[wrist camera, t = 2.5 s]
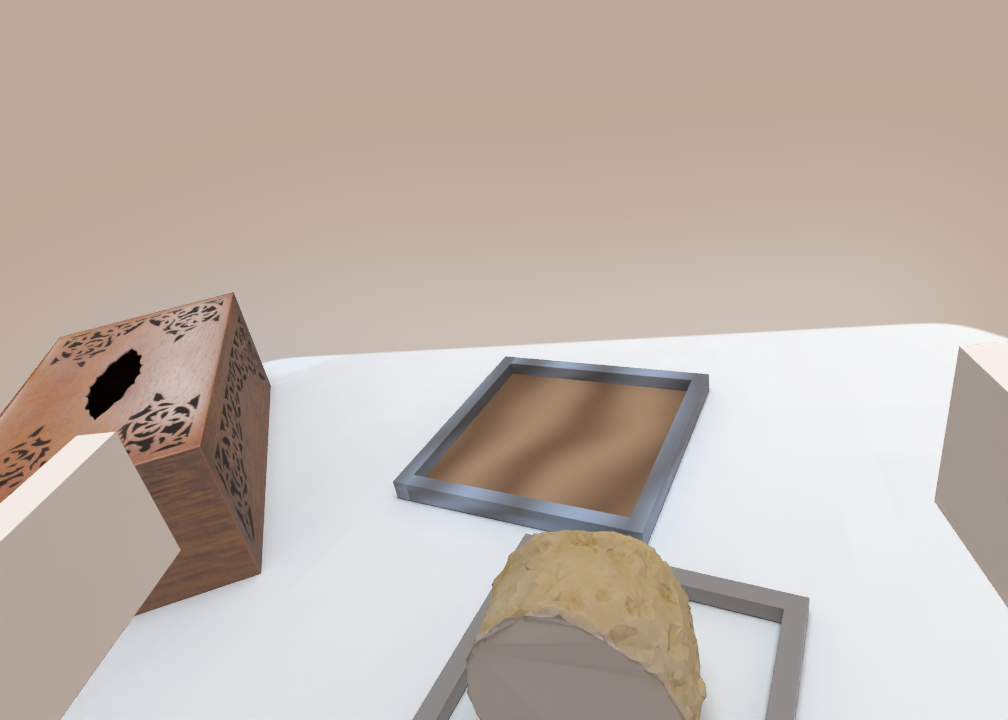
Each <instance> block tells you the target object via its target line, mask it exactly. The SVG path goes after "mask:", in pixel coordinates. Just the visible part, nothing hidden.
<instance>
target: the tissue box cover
mask: <svg viewBox="0 0 1008 720" xmlns="http://www.w3.org/2000/svg"><path fill="white" fill-rule="evenodd" d="M270 388H271V386H270V383H269V381H268V378H267V375H266V373H265V370H264V368H263V365H262V363H261V360H260V358H259V355H258V353H257V350H256V348H255V345H254V343H253V340H252V338H251V335H250V333H249V330H248V328H247V325H246V323H245V320H244V317H243V315H242V312H241V310H240V307H239V305H238V303H237V300H236V298H235V295H234V293H229V294H225V295H222V296H217V297H214V298H210V299H206V300H202V301H198V302H195V303H190V304H187V305H182V306H179V307H175V308H171V309H167V310H163V311H159V312H156V313H152V314H148V315H144V316H140V317H136V318H132V319H129V320H124V321H121V322H117V323H113V324H109V325H105V326H101V327H98V328H94V329H90V330H86V331H82V332H78V333H74V334H70V335H67V336H63V337H60V338H59V339H58V341H57V342H56V343H55V345H54V346H53V347H52V349H51V350H50V351H49V352H48V354H47V355H46V356H45V358H44V359H43V360H42V362H41V363H40V364H39V366H38V367H37V368H36V369H35V371H34V372H33V373H32V374H31V376H30V377H29V378H28V380H27V381H26V382H25V384H24V385H23V386H22V388H21V389H20V390H19V391H18V393H17V394H16V395H15V397H14V398H13V399H12V401H11V402H10V403H9V404H8V406H7V407H6V408H5V410H4V411H3V412H2V413H1V415H0V503H1V502H2V501H4V500H5V499H6V498H7V497H8V496H9V495H10V494H11V493H13V492H14V491H15V490H16V489H17V488H18V487H19V486H20V485H22V484H23V483H24V482H25V481H26V480H27V479H28V478H29V477H31V476H32V475H33V474H34V473H35V472H36V471H37V470H38V469H40V468H41V467H42V466H43V465H44V464H45V463H46V462H48V461H49V460H50V459H51V458H52V457H53V456H54V455H55V454H57V453H58V452H59V451H60V450H61V449H62V448H63V447H64V446H66V445H67V444H68V443H69V442H70V441H71V440H72V439H73V438H75V437H76V436H78V435H88V434H98V433H108V432H116V433H117V435H118V437H119V439H120V441H121V443H122V444H123V446H124V448H125V450H126V452H127V453H128V455H129V457H130V459H131V461H132V463H133V464H134V466H135V468H136V470H137V472H138V473H139V475H140V477H141V479H142V481H143V483H144V484H145V486H146V488H147V490H148V492H149V493H150V495H151V497H152V499H153V501H154V503H155V504H156V506H157V508H158V510H159V512H160V514H161V515H162V517H163V519H164V521H165V523H166V524H167V526H168V528H169V530H170V532H171V534H172V535H173V537H174V539H175V541H176V543H177V544H178V546H179V548H180V550H181V551H180V552H179V553H178V555H177V556H176V558H175V559H174V560H173V562H172V563H171V565H170V566H169V568H168V569H167V570H166V572H165V573H164V575H163V576H162V577H161V579H160V580H159V582H158V583H157V584H156V586H155V587H154V589H153V590H152V591H151V593H150V594H149V596H148V597H147V598H146V600H145V601H144V603H143V604H142V605H141V607H140V608H139V610H138V611H137V612H136V614H135V615H138V614H141V613H144V612H147V611H150V610H153V609H156V608H159V607H162V606H165V605H168V604H171V603H174V602H177V601H180V600H183V599H186V598H189V597H192V596H195V595H198V594H201V593H204V592H207V591H210V590H213V589H216V588H219V587H222V586H225V585H228V584H231V583H234V582H237V581H240V580H243V579H246V578H249V577H252V576H255V575H258V574H261V564H262V545H263V525H264V506H265V486H266V466H267V447H268V427H269V408H270ZM135 615H134V616H135Z"/></svg>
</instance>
